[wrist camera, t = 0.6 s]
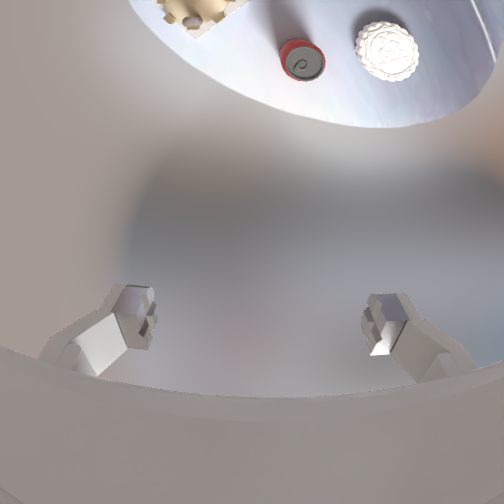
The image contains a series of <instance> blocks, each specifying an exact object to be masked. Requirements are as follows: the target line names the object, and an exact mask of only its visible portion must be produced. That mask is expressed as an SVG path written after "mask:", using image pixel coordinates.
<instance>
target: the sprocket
mask: <svg viewBox="0 0 504 504" xmlns="http://www.w3.org/2000/svg"><path fill="white" fill-rule="evenodd" d="M228 2H236V0H157V4H164V8H165V10H166V12H167V13H168V14H167V15H166V16H165V17H164V18H163V19H164V20H166V21H167V22H168V23H169V24H173V23H174V22H175V21H178V22H181V23H182V24H183V26H185V27H187V30H198V29H200V25H201V24H202V23H205V22H208V21H210V20H213V21H214V22H215V23H219V22H220V21H222V20H223V19H224V18H226V16H225V15H224V14H222V12H223V11H224V10H225V8H226V6H227V5H228Z"/></svg>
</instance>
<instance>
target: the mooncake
mask: <svg viewBox="0 0 504 504" xmlns="http://www.w3.org/2000/svg"><path fill="white" fill-rule="evenodd" d="M355 43H356V47H355V51H356V52H357V53H358V54H357V58H358V60H359V61H361V64H362V66H363V67H364V68H366V69H367V70H368V71H369V73H371V74H372V75H374V76H377V77H379V78H380V79H382V80H389V81H391V82H393V81H395V80H398V81H401V80H403V79H404V77H405V78H407V77H409V76H410V74H411V73H412V72H414V71H415V66H417V65H418V59H417V58H418V57H419V52H418V51H417V48H418V46H417V44H416V43H415V42H414V38H413V36H412V35H410V34H408V32H407V30H406V29H404V28H400V26H399V25H398V24H394V23H389V22H385V21H380V22H372V23H371V24H370V25H365V26H364V27H363V30H361V31H359V32H358V37H357V38H356V40H355Z"/></svg>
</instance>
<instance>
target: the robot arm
mask: <svg viewBox="0 0 504 504" xmlns="http://www.w3.org/2000/svg"><path fill="white" fill-rule="evenodd" d="M154 296H155V295H154V291H153V288H152V287H147V286H137V285H126V284H115V285H114V286H113V287H112V288H111V290H110V292H109V294H108V295H107V297H106V298H105V300H104V302H103V303H102V305H101V307H100V308H99V310H94V311H92V312H91V313H89V314H87V315H86V316H84V317H83V318H81V319H79V320H78V321H76V322H74V323H73V324H71V325H69V326H68V327H66V328H64V329H63V330H61V331H60V332H58V333H56V334H55V335H53V336H52V337H50V338H49V340H48V342H47V343H46V345H45V347H44V349H43V350H42V352H41V353H40V355H39V357H38V359H34V358H32V357H29V356H26V355H23V354H21V353H18V352H15V351H13V350H10V349H8V348H5V347H3V346H1V345H0V504H504V360H502V361H499V362H496V363H494V364H491V365H487V366H484V367H481V368H478V369H477V368H476V366H475V364H474V362H473V361H472V359H471V357H470V355H469V353H468V351H467V350H466V348H465V347H464V346H462V345H461V344H459V343H458V342H457V341H455V340H454V339H452V338H451V337H449V336H448V335H447V334H445V333H444V332H442V331H441V330H439V329H438V328H436V327H435V326H434V325H432V324H430V323H429V322H428V321H426V320H425V319H421V318H420V316H419V315H418V313H417V311H416V309H415V308H414V306H413V304H412V302H411V301H410V299H409V297H408V296H407V295H406V294H405V293H389V294H371V295H370V296H369V297H368V300H367V304H368V306H369V307H367V308H366V309H365V310H364V311H363V314H362V318H361V327H362V331H363V334H364V335H365V336H367V337H368V340H367V342H366V343H367V346H368V349H369V351H370V354H371V355H382V354H390V355H391V357H392V358H393V359H394V360H395V361H396V362H397V363H398V364H399V365H400V366H401V367H402V368H403V369H404V370H405V371H406V372H407V373H408V374H409V375H410V376H411V377H412V378H413V379H414V380H415V381H416V382H417V383H418V384H413V385H408V386H402V387H396V388H390V389H383V390H376V391H369V392H360V393H351V394H340V395H329V396H312V397H236V396H219V395H206V394H196V393H186V392H178V391H170V390H163V389H157V388H150V387H144V386H138V385H133V384H127V383H123V382H118V381H113V380H108V379H104V378H100V377H98V375H99V374H100V373H101V372H102V371H104V370H105V369H106V368H107V367H108V366H109V365H110V364H111V363H112V362H113V361H114V360H116V359H117V358H118V357H119V356H120V355H121V354H122V353H123V352H124V351H126V350H127V348H135V349H144V350H148V348H149V345H150V342H151V340H152V334H151V331H153V330H154V329H155V328H156V325H157V322H158V321H157V320H158V308H157V305H156V303H155V302H154V301H153V299H154Z"/></svg>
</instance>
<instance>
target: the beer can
mask: <svg viewBox="0 0 504 504" xmlns="http://www.w3.org/2000/svg"><path fill="white" fill-rule="evenodd" d="M280 60H281V65H282V68H283V70H284V71H285V73H286V74H287V75H288V76H290V77H291V78H292V79H295V80H298V81H311V80H314V79H316V78H318V77H319V76H320V75H321V74H322V72H323V70H324V68H325V57H324V54H323V53H322V51H321V50H320V49H319V48H318V47H317V46H315V45H314V44H312V43H310V42H308V41H306V40H304V39H297V38H296V39H291V40H289V41H287V42H285V43H284V44H283V45H282V47H281V49H280Z"/></svg>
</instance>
